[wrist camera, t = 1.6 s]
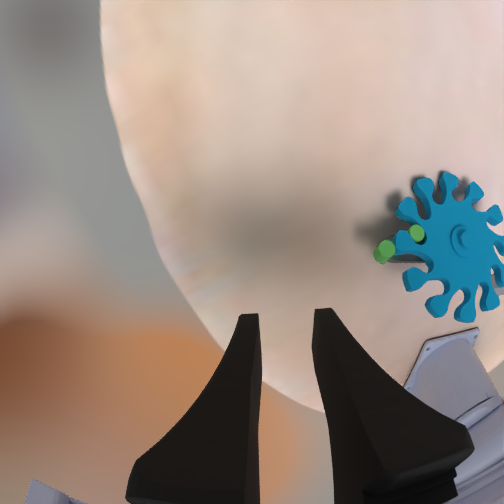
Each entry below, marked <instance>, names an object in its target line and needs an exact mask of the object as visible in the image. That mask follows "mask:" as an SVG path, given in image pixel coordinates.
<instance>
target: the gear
mask: <svg viewBox="0 0 504 504" xmlns="http://www.w3.org/2000/svg"><path fill="white" fill-rule="evenodd" d="M458 184H459V181H458V178H457V177H456V176H455V175H453V174H450V173H447V172H444V174H443V175H442V176H441V177H440V179H439V185H440V187H441V191H442V201H441V204H440V205H439V204H437V203H435V202H434V200H433V198H432V193H433V190H434V183H433V181H432V180H431V179H430V178H422V179H419V180H417V181H416V182H415V184H414V185H413V190H414V193H415V194H416V195H417V196H418V197H419V198H420V200H421V201H422V203H423V205H424V207H425V211H426V217H427V220H424V219H422V218H420V216H419V215H418V212H417V206H416V203H415V201H414V200H413V199H412V198H410V197H407V198H405V199H404V200H403V201H402V202H401V203H400V205H399V206H398V208H397V209H396V211H395V214H396V216H397V217H398V218H399V219H401V220H404V221H406V222H408V223H409V224H411V225H412V226H411V227H410V228H409V229H408V230H407V231H404V230H399V231H398V232H397V233H396V234H395V235H392V236H389V237H387V238H386V239H385V240H384V241H382V242H381V243H380V244H379V245H378V246H377V248H376V249H375V250H374V254H373V255H374V258H375V260H376V261H378V262H379V263H380V264H385V263H386V262H387V261H388V262H391V263H426V265H427V267H428V268H429V269H428V272H427V273H425V272H423V271H421V270H420V269H418V268H415V267H412V268H410V269H408V270H406V271H405V272H403V273H402V278H403V283H404V286H405V289H406V291H408V292H412V291H415V290H417V289H419V288H421V287H422V285H423V284H424V283H426V282H427V281H429V280H440V281H441V282H442V283H443V285H444V292H443V294H442V295H436V296H433V297H430V298H429V299H428V300H427V301H426V303H425V307H426V309H427V310H428V312H429V313H430V314H431V315H432V316H433V317H434V318H438V317H442V316H444V315H445V314H446V312H447V310H448V305H449V302H450V300H451V298H452V296H453V295H454V294H455V293H456V292H457V291H458V290H459V289H461V290H462V291H463V293H464V301H463V302H462V303H461V304H460V305H459V306H458V307H457V308H456V310H455V312H454V319H455V320H457V321H459V322H464V323H469V322H474V320H475V317H476V310H475V295H476V291H477V288H478V285H479V284H480V285H481V287H482V290H483V292H482V296H481V299H480V309H481V311H489V310H493V309H495V308H496V307H498V306H499V304H500V301H499V297H498V295H497V294H496V292H495V290H494V288H493V285H492V280H491V268H492V269H493V271H494V276H495V282H496V285H497V286H498V287H499V288H501V287H504V264H503V263H502V262H501V261H500V260H499V258H498V257H497V255H496V253H495V251H494V247H493V244H494V245H495V247H496V248H497V250H498V252H499V254H500V255H501V256H504V236H499V235H497V234H495V233H494V232H493V231H491V230H490V229H489V228H488V226H487V223H486V221H487V222H488V223H489V224H491V225H493V226H495V225H497V224H499V223H500V222H502V221H503V216H502V213H501V211H500V208H499V206H498V205H493V206H492V207H491V208H489V209H488V210H487V211H486V212H478V211H475V210H474V208H473V207H472V204H471V203H476V202H477V201H479V200H480V199H481V198H482V197H483V195H484V192H483V191H482V189H481V188H480V187H479V186H478V185H477V184H476V183H475V182H472V183H471V184H470V185H469V186H468V187H467V188H466V189H465V197H464V199H463V201H462V202H457V201H456V200H455V199H454V198H453V196H452V191H453V190H454V189H455V188H456V187H457V186H458Z"/></svg>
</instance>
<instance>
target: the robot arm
mask: <svg viewBox="0 0 504 504" xmlns="http://www.w3.org/2000/svg"><path fill="white" fill-rule="evenodd" d="M479 333H480V329H479V328H476V329H473V330H469V331H465V332H461V333H457V334H453V335H449V336H445V337H441V338H437V339H432V340H429V341H427V342H426V343H425V344H424V346H423V349H422V351H421V353H420V355H419V358H418V360H417V362H416V364H415V366H414V368H413V370H412V372H411V374H410V376H409V378H408V380H407V382H406V384H405V386H404V388H403V387H402V386H401V385H400V384H399V383H397V382H396V381H395V380H394V379H393V378H392V377H391V376H389V375H388V374H387V373H386V372H385V371H384V370H383V369H382V368H381V367H380V366H379V365H378V364H377V363H376V362H375V361H374V360H373V359H372V358H371V357H370V356H369V354H368V353H367V352H366V351H365V350H364V349H363V348H362V346H361V345H360V344H359V343H358V342H357V341H356V339H355V338H354V337H353V336H352V334H351V333H350V332H349V331H348V329H347V328H346V327H345V325H344V324H343V323H342V321H341V320H340V319H339V317H338V316H337V314H336V313H335V312H334V310H333V309H332V308H323V309H315V313H314V325H313V337H312V354H313V361H314V368H315V373H316V377H317V381H318V385H319V389H320V393H321V397H322V401H323V405H324V409H325V413H326V418H327V423H328V428H329V437H330V445H331V456H332V465H333V466H332V467H333V480H334V481H333V482H334V504H504V397H503V398H502V397H501V396H500V395H499V394H498V392H497V390H496V388H495V386H494V384H493V382H492V380H491V379H490V377H489V375H488V373H487V372H486V370H485V368H484V366H483V365H482V363H481V361H480V359H479V358H478V356H477V354H476V353H475V351H474V350H473V348H472V347H473V345H474V343H475V341H476V339H477V337H478V335H479ZM261 383H262V356H261V341H260V329H259V316H258V313H255V314H241V315H240V316H239V318H238V322H237V325H236V328H235V331H234V333H233V336H232V338H231V341H230V343H229V345H228V347H227V349H226V352H225V354H224V356H223V358H222V360H221V362H220V364H219V365H218V367H217V369H216V370H215V372H214V374H213V376H212V377H211V379H210V381H209V382H208V384H207V385H206V387H205V389H204V390H203V391H202V393H201V394H200V395H199V397H198V398H197V400H196V401H195V402H194V403H193V405H192V406H191V407H190V408H189V410H188V411H187V412H186V414H185V415H184V416H183V417H182V418H181V419H180V420H179V421H178V422H177V424H176V425H175V426H174V427H173V428H172V429H171V430H170V431H169V432H168V433H167V434H166V435H165V436H164V437H163V438H162V439H161V440H160V441H159V442H157V443H156V444H155V445H154V446H153V447H152V448H150V449H149V450H148V451H147V452H146V453H144V454H143V455H142V456H141V457H140V458H138V459H137V460H136V462H135V464H134V466H133V469H132V472H131V474H130V477H129V480H128V485H127V490H126V496H125V498H126V500H127V501H128V502H129V503H131V504H260V486H259V449H258V422H259V410H260V397H261ZM25 504H87V503H84V502H81V501H79V500H76V499H74V498H71V497H69V496H68V495H66V494H65V493H63V492H61V491H59V490H57V489H55V488H53V487H51V486H48V485H46V484H44V483H42V482H40V481H38V480H36V479H31V483H30V486H29V489H28V493H27V496H26V500H25Z"/></svg>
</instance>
